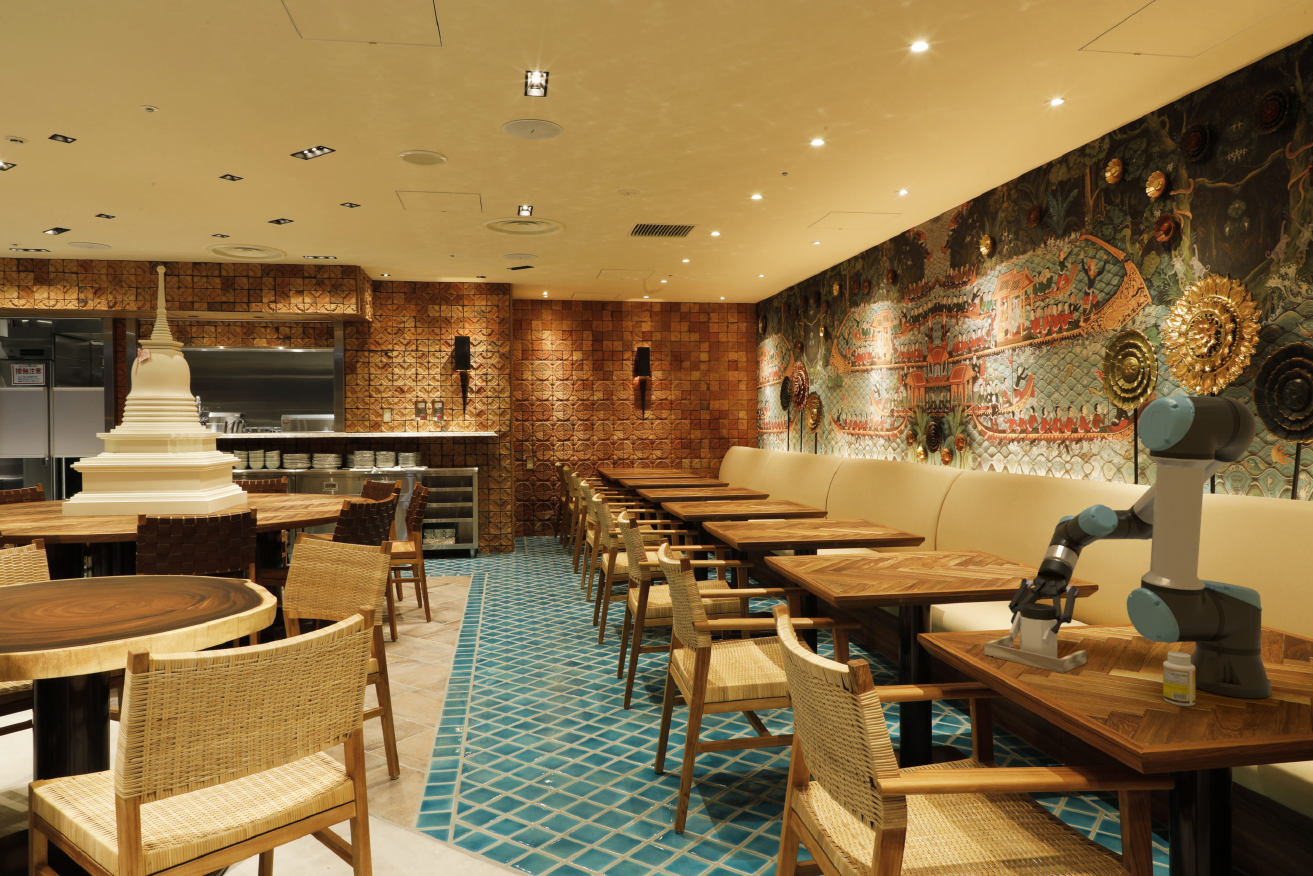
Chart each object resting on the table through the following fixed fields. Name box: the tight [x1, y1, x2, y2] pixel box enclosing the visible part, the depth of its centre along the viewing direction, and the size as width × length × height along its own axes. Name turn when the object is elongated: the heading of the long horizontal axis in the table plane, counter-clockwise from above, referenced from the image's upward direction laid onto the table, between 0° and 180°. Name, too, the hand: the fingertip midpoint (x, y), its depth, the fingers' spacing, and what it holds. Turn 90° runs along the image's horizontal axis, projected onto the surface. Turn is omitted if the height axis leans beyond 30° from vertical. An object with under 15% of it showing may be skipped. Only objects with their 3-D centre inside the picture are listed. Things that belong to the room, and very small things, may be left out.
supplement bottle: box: [1162, 650, 1197, 707], centre depth 156 cm, size 6×6×10 cm
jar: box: [1019, 602, 1058, 658], centre depth 186 cm, size 9×8×12 cm
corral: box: [983, 634, 1087, 674], centre depth 187 cm, size 14×19×3 cm
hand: (1028, 638), depth 185 cm, fingers closed on jar, 7 cm apart
